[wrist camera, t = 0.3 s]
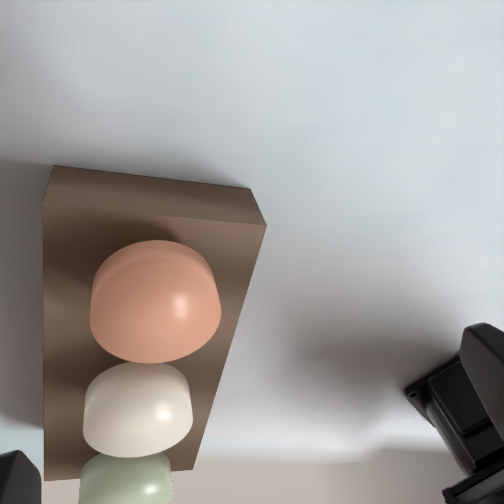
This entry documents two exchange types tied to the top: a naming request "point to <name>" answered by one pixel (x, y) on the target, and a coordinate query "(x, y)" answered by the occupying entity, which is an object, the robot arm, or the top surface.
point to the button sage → (126, 480)
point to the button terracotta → (154, 302)
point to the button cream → (137, 409)
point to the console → (86, 266)
